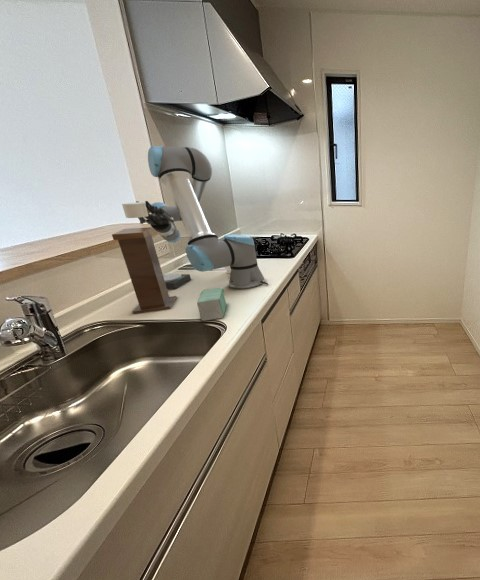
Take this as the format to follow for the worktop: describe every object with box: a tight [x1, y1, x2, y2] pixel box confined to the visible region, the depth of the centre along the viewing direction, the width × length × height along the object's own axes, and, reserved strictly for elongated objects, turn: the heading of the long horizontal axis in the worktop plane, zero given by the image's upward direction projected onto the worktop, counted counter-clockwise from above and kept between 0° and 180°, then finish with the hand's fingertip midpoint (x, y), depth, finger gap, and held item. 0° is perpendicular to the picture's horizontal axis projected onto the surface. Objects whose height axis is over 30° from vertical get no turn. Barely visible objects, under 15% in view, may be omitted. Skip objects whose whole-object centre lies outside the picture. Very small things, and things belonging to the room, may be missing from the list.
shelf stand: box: [111, 226, 178, 315], centre depth 119 cm, size 12×12×30 cm
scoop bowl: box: [121, 201, 151, 219], centre depth 125 cm, size 21×7×5 cm, turn 22°
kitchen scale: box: [163, 273, 192, 290], centre depth 147 cm, size 13×13×4 cm
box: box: [196, 287, 227, 322], centre depth 117 cm, size 7×14×8 cm, turn 22°
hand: (142, 204), depth 126 cm, fingers closed on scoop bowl, 2 cm apart
